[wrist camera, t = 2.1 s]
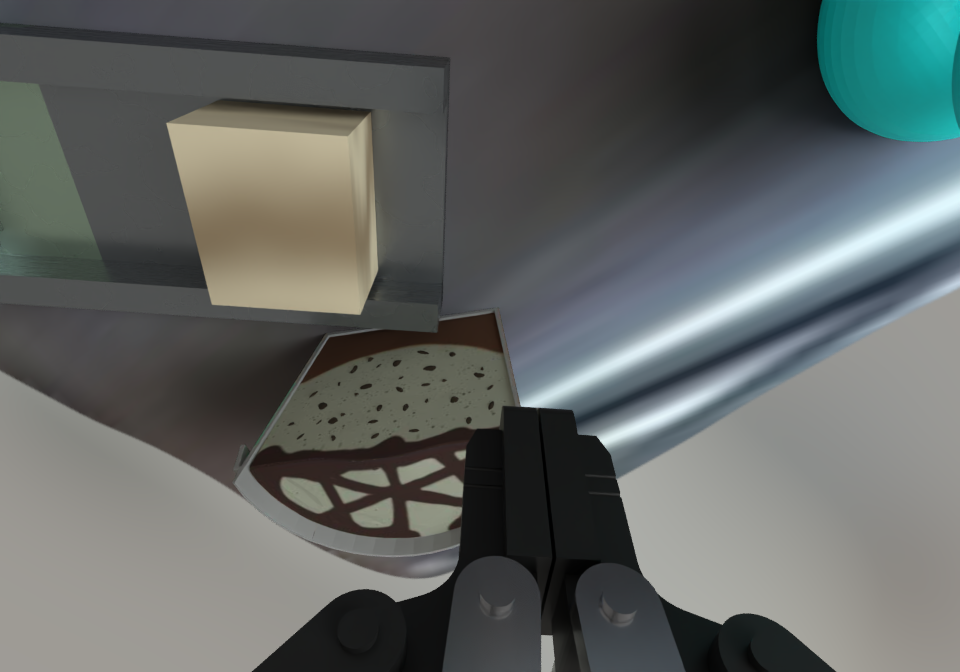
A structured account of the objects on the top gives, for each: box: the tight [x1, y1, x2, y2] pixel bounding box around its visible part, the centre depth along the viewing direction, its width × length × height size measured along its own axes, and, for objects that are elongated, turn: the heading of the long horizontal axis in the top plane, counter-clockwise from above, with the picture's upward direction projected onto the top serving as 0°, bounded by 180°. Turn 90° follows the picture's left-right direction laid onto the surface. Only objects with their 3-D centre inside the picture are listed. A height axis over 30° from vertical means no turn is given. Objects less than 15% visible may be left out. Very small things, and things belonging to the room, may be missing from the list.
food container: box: [233, 307, 538, 557], centre depth 25 cm, size 12×6×10 cm, turn 101°
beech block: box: [166, 100, 378, 315], centre depth 21 cm, size 7×6×4 cm
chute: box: [0, 23, 450, 333], centre depth 22 cm, size 11×24×4 cm, turn 86°
